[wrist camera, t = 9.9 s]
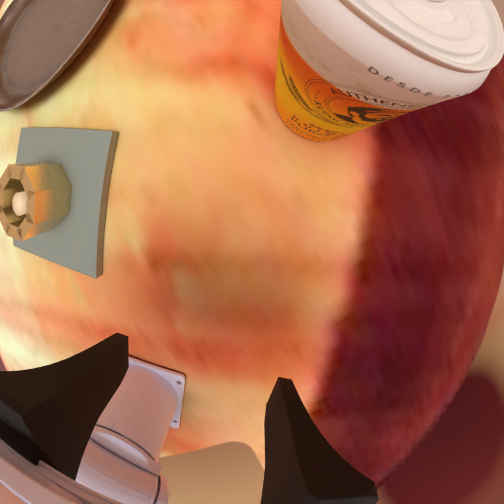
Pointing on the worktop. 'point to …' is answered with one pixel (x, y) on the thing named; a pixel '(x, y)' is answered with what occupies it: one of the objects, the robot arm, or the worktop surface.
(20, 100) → the plant saucer
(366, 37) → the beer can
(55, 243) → the post plate
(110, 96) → the worktop surface
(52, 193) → the collar
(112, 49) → the worktop surface
